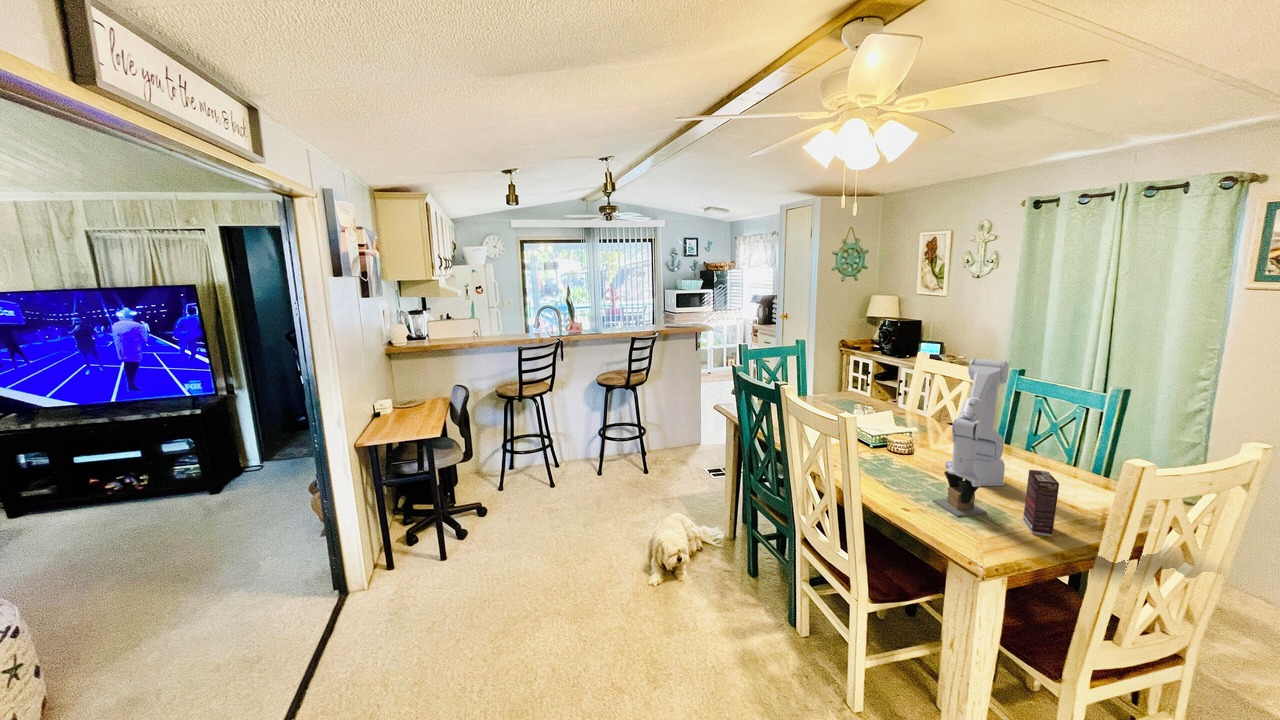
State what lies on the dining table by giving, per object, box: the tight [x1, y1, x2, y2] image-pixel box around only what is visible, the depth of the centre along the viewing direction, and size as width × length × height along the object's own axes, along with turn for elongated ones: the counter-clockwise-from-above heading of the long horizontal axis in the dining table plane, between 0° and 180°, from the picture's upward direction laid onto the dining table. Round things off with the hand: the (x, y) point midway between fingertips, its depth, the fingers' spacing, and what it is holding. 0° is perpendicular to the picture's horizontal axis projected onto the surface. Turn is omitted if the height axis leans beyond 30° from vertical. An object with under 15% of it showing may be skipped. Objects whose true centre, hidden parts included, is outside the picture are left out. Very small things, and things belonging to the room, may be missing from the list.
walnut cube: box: [947, 486, 976, 510], centre depth 153 cm, size 5×5×5 cm
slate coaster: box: [932, 497, 988, 518], centre depth 153 cm, size 10×10×1 cm
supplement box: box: [1022, 469, 1060, 538], centre depth 138 cm, size 9×5×16 cm, turn 157°
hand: (959, 498), depth 153 cm, fingers closed on walnut cube, 5 cm apart
